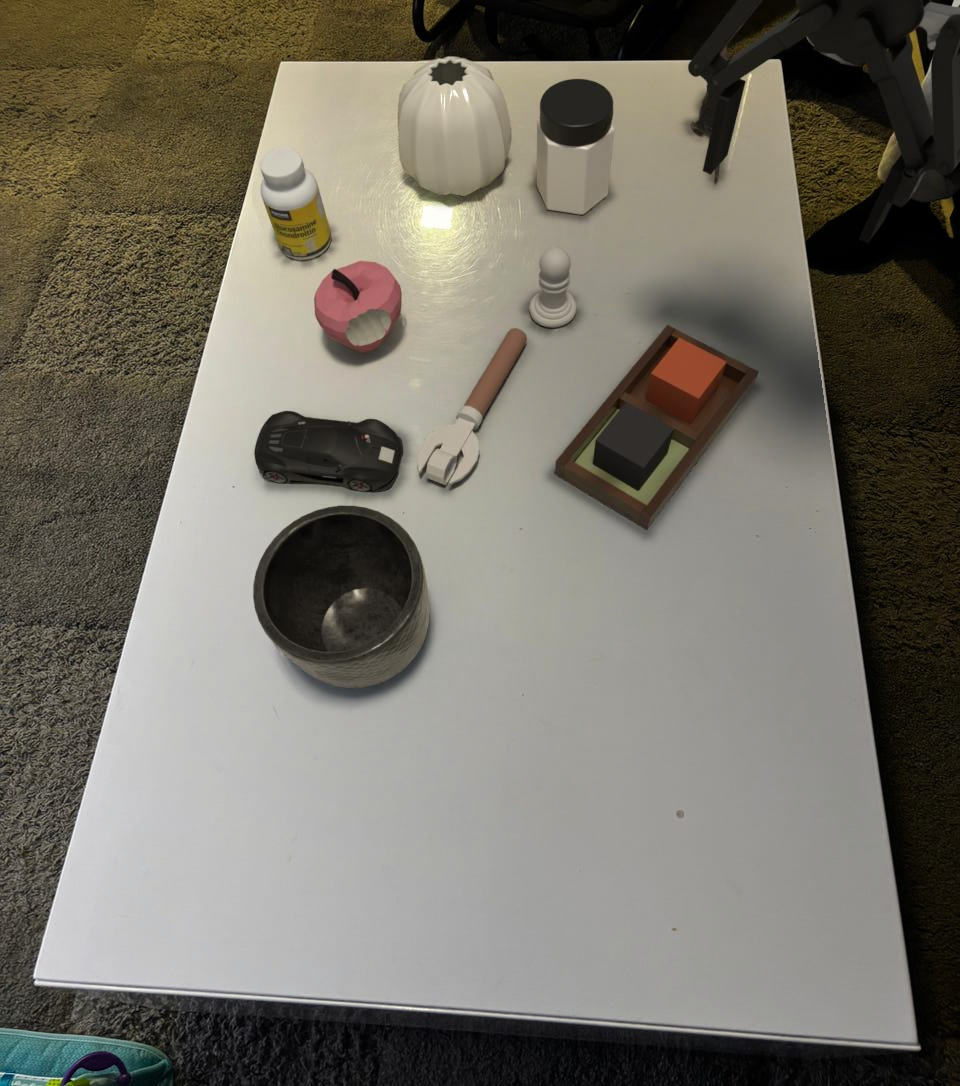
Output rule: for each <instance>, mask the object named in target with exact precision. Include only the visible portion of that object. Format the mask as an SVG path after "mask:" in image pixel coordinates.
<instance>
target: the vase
mask: <svg viewBox="0 0 960 1086" xmlns="http://www.w3.org/2000/svg"><path fill="white" fill-rule="evenodd" d="M507 105H508V104H507V102H506V99H505V96H504V93H503V92H502V90H501V88H500V85H499V84H498V83H497V82H495V79H494V76H493V74H492V72H491V71H490V69H488V68H486V67H484V66H483V65H481V64H479V63H477V62H475V61H472V60H469V59H467V58H465V57H459V56H445V57H443V58H441V57H440V58H436V59H433V60H430V61H428V62H426V63H425V64H423V65H422V66H420V67H418V69H416V70H415V71H414V73H413V75H412V76H411V77H410V78H409V79H408V80H407V81H406V82H405V83H404V84H403V85H402V87H401V90H400V93H399V95H398V102H397V132H398V133H397V134H398V136H397V141H398V142H397V143H398V144H397V145H398V155H399V161H400V164H401V167H402V170H403V171H404V172H406V173H407V174H408V175H409V176H410V177H411V178H412V179H413V180H415V181H416V183H418V185H419V186H420V187H421V188H423V189H425V190H427V191H429V192H432V193H434V194H436V195H438V196H442V197H443V196H446V195H449V194H453V195H457V196H462V197H466V196H468V195H470V194H472V193H474V192H476V191H477V190H479V189H480V188H482V189H483V188H486V187H487V186H489V185H490V184H492V183H493V181H494V180H496V178H498V176H500V174H502V173H503V172H504V171H505V167H506V166H505V165H506V157H507V156H508V154H509V152H510V150H511V146H512V136H513V135H512V125H511V124H512V123H511V119H510V113H509V110H508V106H507Z"/></svg>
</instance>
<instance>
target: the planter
mask: <svg viewBox="0 0 960 1086" xmlns="http://www.w3.org/2000/svg"><path fill="white" fill-rule="evenodd" d="M422 559H423V558H422V556H421V553H420V552H419V549H418V547H417V545H416V543H415V541H414V540H413V538H412V537H411V535H410V534H409V533H408V531H407V530H406V529H404V527H403V526H402V525H401V524H400V523H398V522H397V521H396V520H394V519H393V518H391V517H390V516H388V515H386V514H385V513H382V512H381V511H378V510H376V509H371V508H369V507H366V506H365V507H364V506H358V505H344V504H343V505H335V506H334V505H333V506H328V507H324V508H320V509H316V510H313V511H311V512H309V513H306V514H304V515H302V516H300V517H298V518H297V519H295V520H294V521H292V522H291V523H290V524H288V525H287V526H285V527H284V528H283V529H282V530H280V532H279V533H278V534H276V536H275V537H274V538H273V539H272V540H271V542H270V543H269V545H268V546H267V547H266V548H265V550H264V552H263V554H262V556H261V557H260V560H259V562H258V564H257V568H256V571H255V574H254V579H253V585H252V586H253V588H252V599H253V605H254V611H255V613H256V616H257V620H258V622H259V624H260V626H261V628H262V630H263V631H264V634H265V635H266V636H267V637H268V638H269V640H270V641H271V642H272V643H273V644H274V646H275V647H276V648H277V649H278V650H279V651H280V652H282V653H283V655H285V656H286V657H287V658H288V659H290V660H291V661H292V662H293V663H294V664H295V665H296V666H298V667H299V668H300V669H301V670H302V671H304V672H305V673H306V674H308V675H309V676H311V677H314V678H315V679H316V680H318V681H320V682H324V683H326V684H328V685H331V686H335V687H341V688H349V689H351V688H352V689H358V688H359V689H360V688H367V687H372V686H376V685H379V684H382V683H384V682H386V681H389V680H390V679H392V678H394V677H395V676H396V675H398V674H400V673H401V672H402V671H403V670H405V669H406V668H407V667H408V666H409V665H410V664H411V662H412V661H413V660H414V658H415V657H416V656H417V654H418V653H419V652H420V650H421V648H422V646H423V643H424V641H425V639H426V637H427V632H428V629H429V624H430V623H429V621H430V613H431V612H430V611H431V610H430V609H431V608H430V607H431V606H430V595H429V586H428V579H427V575H426V571H425V567H424V563H423V560H422Z"/></svg>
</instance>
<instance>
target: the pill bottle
mask: <svg viewBox="0 0 960 1086" xmlns="http://www.w3.org/2000/svg"><path fill="white" fill-rule="evenodd" d="M259 169H260V172H261V174H262V178H263V179H262V181H261V183H260V189H259V190H260V196H261V199H262V202H263V205H264V208H265V210H266V213H267V216H268V218H269V222H270V225H271V227H272V229H273V234H274V236H275V239H276V241H277V243H278V246H279V248H280V250H281V251H282V253H284V255H286V256H288V257H289V258H291V259H295V260H299V261H300V260H303V261H305V260H310V259H314V258H316V257H318V256H320V255H322V254H323V253H324V252H325V251H326V250H327V249H328V247H329V246H330V244H331V241H332V232H331V228H330V224H329V219H328V217H327V214H326V213H327V212H326V209H325V206H324V203H323V199H322V195H321V191H320V188H319V185H318V181H317V179H316V177H315V175H314V173H312V172H311V171H310V170H309V169H308V168H306V167H305V164H304V161H303V157H302V155H301V153H300V152H299V151H298V150H296V149H294V148H292V147H286V146H285V147H283V146H282V147H281V146H280V147H276V148H273V149H271V150H269V151H267V152H266V153H265V154H264V155H263V156H262V157H261V159H260V162H259Z"/></svg>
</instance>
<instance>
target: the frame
mask: <svg viewBox="0 0 960 1086" xmlns="http://www.w3.org/2000/svg"><path fill="white" fill-rule="evenodd" d="M679 338H681V339H683V340H685V341H687V342H689V343H691V344H693V345H695V346H697V347H699V348H701V349H703V350H705V351H707V352H709V353H711V354H712V355H714V356H716V357H718V358H720V359H722V360H724V361H726V365H725V368H724V371H723V374H722V377H721V380H720V383H719V386H718V389H717V390H716V392H715V393H714V394H713V396H712V397H711V398H710V400H709V401H708V402H707V404H706V405H705V406H704V408H703V409H702V410H701V412H700V413H699V414H698V416H697V417H696V418H695V420H694V421H693V422H692V424H690V423H688V422H686V421H684V420H682V419H680V418H679V417H677V416H675V415H673V414H671V413H669V412H667V411H666V410H664V409H662V408H660V407H658V406H656V405H655V404H653V403H651V402H649V401H647V400H646V395H647V390H648V385H649V380H650V375H651V372H652V371H653V370H654V369H655V367H656V366H657V365H658V364H659V362H660V361H661V360H662V359H663V357H664V356H665V355H666V354H667V352H668V351H669V350H670V349H671V347H672V346H673V345H674V344H675V342H676V341H677V340H678V339H679ZM759 374H760V370H758V369H756V368H753V367H751V366H749V365H747V364H745V363H743V362H741V361H740V360H737V359H736V358H734V357H732V356H730V355H727V354H726V353H724V352H722V351H720V350H718V349H716V348H714V347H712V346H710V345H708V344H706V343H704V342H702V341H701V340H698V339H696V338H694V337H693V336H691V335H689V334H686V333H685V332H683V331H681V330H679V329H676V328H675V327H673V326H671V325H669V324H667V325H665V326H664V328H663V329H662V331H661V332H660V333H659V334H658V336H657V337H656V338H655V339H654V341H653V342H652V343H651V344H650V345H649V347H648V348H647V349H646V350H645V351H644V352H643V354H642V355H641V356H640V358H638V360H637V361H636V362H635V364H634V365H633V366H632V367H631V369H630V370H629V371H628V372H627V373H626V375H625V376H624V377H623V378H622V379H621V380H620V382H619V383H618V384H617V385H616V387H615V388H614V389H613V390H612V392H610V394H609V396H608V397H607V398H606V399H605V401H604V402H602V404H601V405H600V406H599V407H598V409H597V410H596V411H595V413H594V414H593V415H592V416H591V417H590V418H589V419H588V421H587V422H586V423H585V425H584V426H583V427H582V429H581V430H580V431H579V432H578V433H577V435H576V436H575V437H574V438H573V440H571V442H570V443H569V444H568V446H567V447H566V448H565V449H564V450H563V452H562V453H561V454H560V455H559V456H558V457H557V459H556V460H555V471H554V475H555V476H557V477H559V478H560V479H562V480H564V481H565V482H567V483H569V484H570V485H571V486H574V487H575V488H576V489H578V490H580V491H582V492H583V493H585V494H586V495H589V497H592V498H593V499H595V500H597V501H598V502H600V503H601V504H603V505H604V506H607V507H608V508H610V509H611V510H613V511H615V512H617V513H618V514H620V515H622V516H623V517H625V518H627V519H628V520H630V521H631V522H633V523H634V524H636V525H638V526H640V527H641V528H643V529H645V530H646V531H648V529H649V528H650V527H651V526H652V524H653V523H654V522H655V520H656V518H657V517H658V516H659V515H660V513H661V512H662V511H663V509H664V508H665V507H666V505H667V504H668V502H669V501H670V500H671V498H672V497H673V496H674V494H675V493H676V492H677V490H678V489H679V488H680V486H681V485H682V484H683V482H684V481H685V480H686V478H687V477H688V475H689V474H690V473H691V471H693V469H694V467H695V466H696V465H697V463H698V462H699V461H700V460H701V458H702V457H703V455H704V454H705V452H706V451H707V450H708V449H709V447H710V446H711V444H712V443H713V442H714V441H715V439H716V438H717V437H718V435H719V434H720V432H721V431H722V430H723V428H724V427H725V426H726V424H727V423H728V421H729V420H730V419H731V418H732V417H733V415H734V413H735V412H736V411H737V410H738V408H739V407H740V405H741V404H742V403H743V401H744V400H745V398H747V396H748V395H749V393H750V392H751V390H752V389H753V388H754V386H755V384H756V381H757V379H758V376H759ZM626 402H627V403H629V404H631V405H633V406H635V407H636V408H638V409H640V410H642V411H644V412H645V413H647V414H649V415H651V416H653V417H654V418H656V419H658V420H660V421H662V422H663V423H665V424H667V425H669V426H671V427H672V428H674V431H673V435H672V439H671V442H670V446H669V450H668V453H667V455H666V456H665V457H664V459H663V460H662V461H661V463H660V464H659V465H658V466H657V468H656V469H655V470H654V472H653V473H652V474H651V476H650V477H649V478H648V480H647V481H646V482H645V483H644V485H643V486H642V487H641V489H640V490H639V491H637V490H635V489H634V488H632V487H630V486H629V485H627V484H625V483H624V482H622V481H620V480H619V479H617V478H615V477H613V476H612V475H610V474H608V473H607V472H605V471H603V470H602V469H600V468H598V467H597V466H595V465H593V457H594V449H595V441H596V439H597V438H598V436H599V435H600V434H601V433H602V431H603V430H604V429H605V428H606V427H607V425H608V424H609V423H610V422H611V420H612V419H613V418H614V417H615V415H616V414H617V413H618V412H619V410H620V409H621V408H622V407H623V405H624V404H625V403H626Z"/></svg>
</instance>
